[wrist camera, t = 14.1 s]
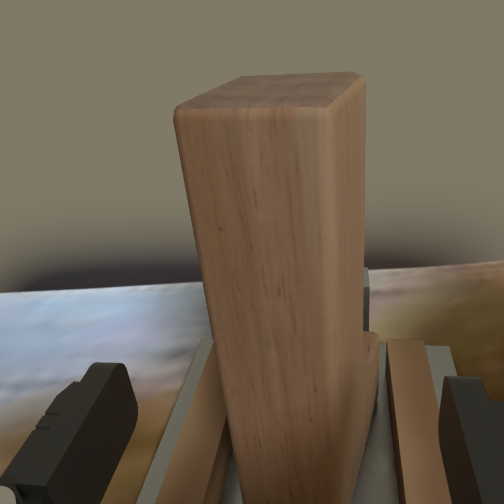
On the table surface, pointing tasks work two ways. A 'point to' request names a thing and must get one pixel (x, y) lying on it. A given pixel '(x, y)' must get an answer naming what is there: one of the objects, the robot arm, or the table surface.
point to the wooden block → (285, 275)
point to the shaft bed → (377, 445)
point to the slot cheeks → (402, 427)
